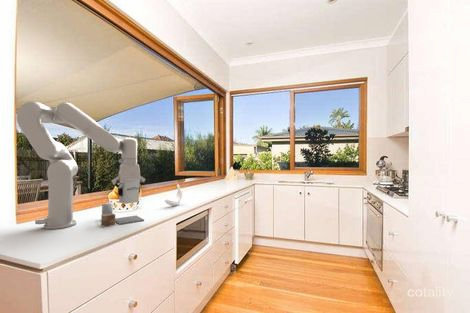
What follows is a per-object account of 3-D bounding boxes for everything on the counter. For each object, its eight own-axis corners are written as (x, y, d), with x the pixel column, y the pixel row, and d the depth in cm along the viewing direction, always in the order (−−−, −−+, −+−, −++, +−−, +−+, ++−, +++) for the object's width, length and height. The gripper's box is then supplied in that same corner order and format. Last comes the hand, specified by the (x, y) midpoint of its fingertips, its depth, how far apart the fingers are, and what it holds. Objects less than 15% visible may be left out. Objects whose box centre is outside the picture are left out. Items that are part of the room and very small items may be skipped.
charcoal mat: (119, 224, 114) (119, 223, 114) (112, 219, 123) (112, 218, 123) (144, 220, 122) (144, 219, 122) (136, 216, 131) (136, 215, 131)
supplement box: (125, 204, 118) (125, 179, 118) (118, 202, 122) (118, 178, 122) (139, 202, 123) (139, 178, 124) (132, 200, 128) (132, 177, 128)
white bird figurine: (164, 207, 155) (164, 185, 155) (177, 202, 173) (178, 183, 174) (170, 208, 154) (170, 186, 154) (183, 203, 172) (184, 183, 172)
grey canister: (105, 220, 121) (105, 204, 122) (99, 219, 124) (100, 204, 124) (114, 218, 126) (114, 203, 126) (108, 217, 128) (109, 202, 129)
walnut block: (103, 226, 111) (103, 216, 111) (101, 224, 115) (101, 214, 115) (115, 224, 114) (115, 214, 114) (112, 222, 118) (112, 212, 118)
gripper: (113, 162, 114) (112, 197, 114) (148, 161, 126) (148, 194, 126) (109, 161, 120) (109, 195, 120) (143, 161, 132) (143, 192, 131)
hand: (129, 194), depth 123 cm, fingers closed on supplement box, 8 cm apart
